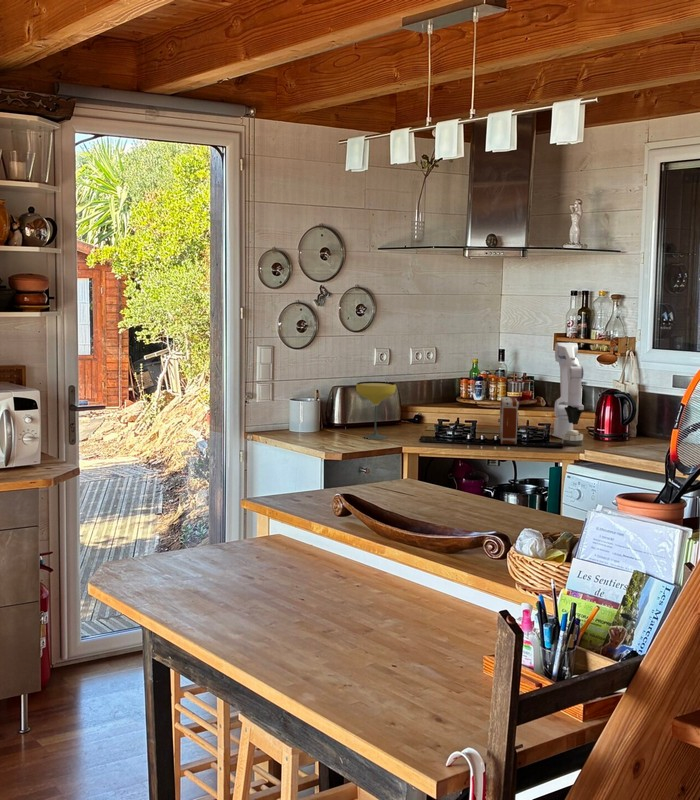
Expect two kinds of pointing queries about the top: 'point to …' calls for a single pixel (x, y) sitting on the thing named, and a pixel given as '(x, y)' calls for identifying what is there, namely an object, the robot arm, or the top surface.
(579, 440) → the lens barrel
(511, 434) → the cine camera
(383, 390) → the cocktail glass
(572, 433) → the lens cap
